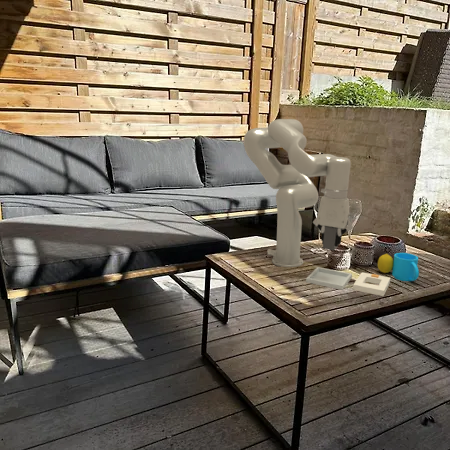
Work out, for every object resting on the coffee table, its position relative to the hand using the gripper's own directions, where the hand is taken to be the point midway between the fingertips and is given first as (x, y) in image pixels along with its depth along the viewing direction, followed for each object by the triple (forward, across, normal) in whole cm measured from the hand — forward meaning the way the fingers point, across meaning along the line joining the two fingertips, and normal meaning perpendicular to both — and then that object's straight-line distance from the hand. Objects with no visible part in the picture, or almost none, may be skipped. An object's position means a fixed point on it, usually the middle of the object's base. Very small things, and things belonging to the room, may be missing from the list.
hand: (330, 243), depth 148 cm
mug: (+14, +25, +16) cm, 33 cm away
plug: (+1, 0, 0) cm, 1 cm away
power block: (+14, +16, +2) cm, 21 cm away
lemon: (+14, +17, +18) cm, 28 cm away
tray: (+14, +1, 0) cm, 14 cm away
